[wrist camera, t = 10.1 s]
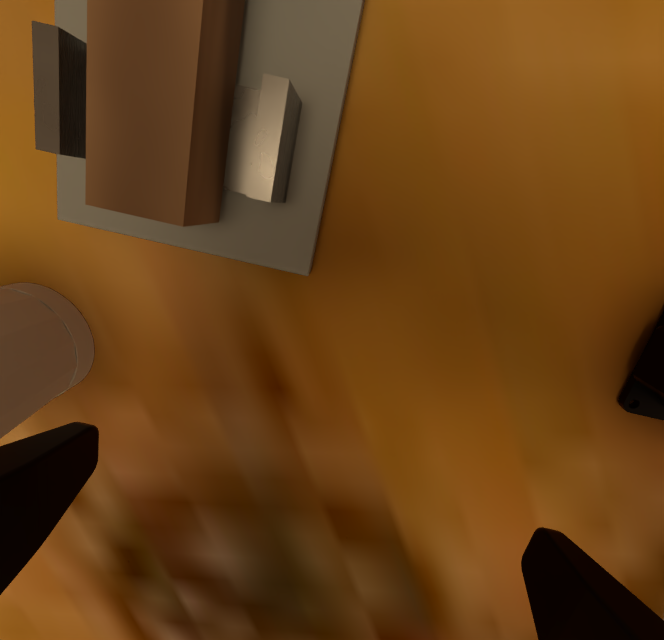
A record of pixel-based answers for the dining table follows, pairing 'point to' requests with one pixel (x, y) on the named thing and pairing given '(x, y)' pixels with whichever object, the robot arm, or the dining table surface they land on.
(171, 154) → the rail
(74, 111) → the bracket
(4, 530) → the robot arm
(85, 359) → the cup
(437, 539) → the dining table surface
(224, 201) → the board
